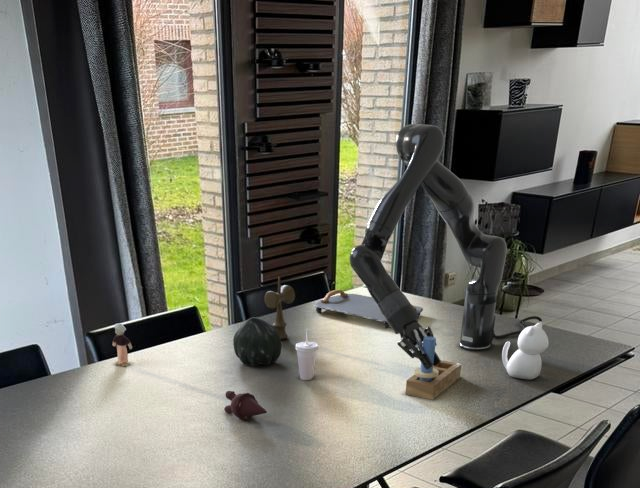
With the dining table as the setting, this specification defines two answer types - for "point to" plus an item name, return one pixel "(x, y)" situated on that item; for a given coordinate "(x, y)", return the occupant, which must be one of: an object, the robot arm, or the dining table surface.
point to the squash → (257, 342)
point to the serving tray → (354, 306)
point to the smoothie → (306, 358)
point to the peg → (430, 351)
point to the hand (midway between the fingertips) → (433, 365)
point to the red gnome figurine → (243, 405)
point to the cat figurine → (526, 353)
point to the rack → (434, 381)
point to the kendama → (280, 305)
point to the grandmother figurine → (121, 345)
